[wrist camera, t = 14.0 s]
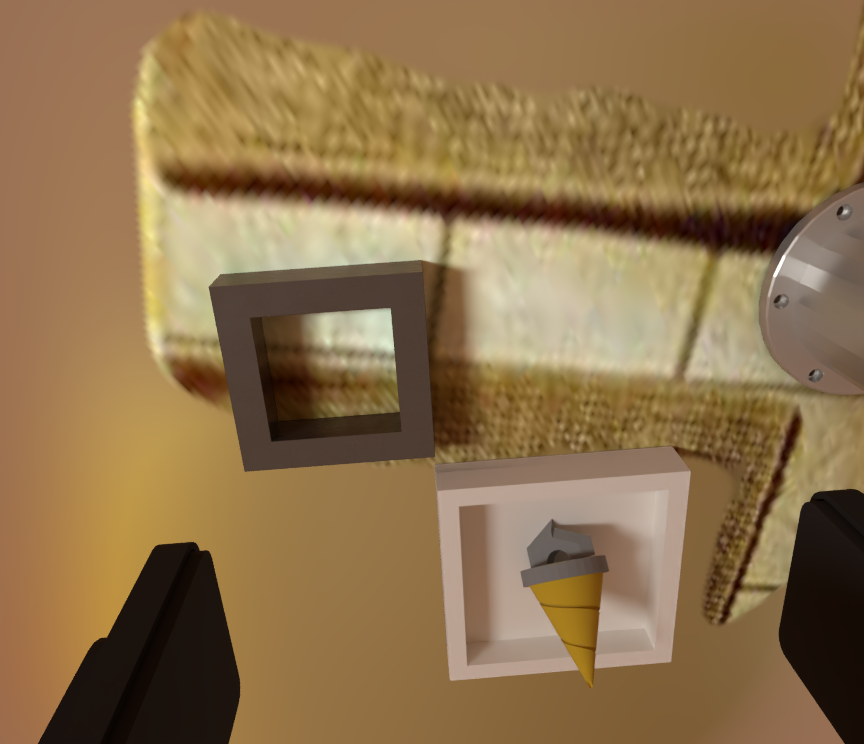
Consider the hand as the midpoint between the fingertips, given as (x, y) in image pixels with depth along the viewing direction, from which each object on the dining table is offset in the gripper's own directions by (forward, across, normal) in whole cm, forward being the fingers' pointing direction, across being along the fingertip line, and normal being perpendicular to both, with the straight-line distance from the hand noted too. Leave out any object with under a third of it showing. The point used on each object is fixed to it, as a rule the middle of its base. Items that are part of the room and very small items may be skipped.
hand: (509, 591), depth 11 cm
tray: (+28, -7, +22) cm, 37 cm away
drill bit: (+28, -8, +22) cm, 36 cm away
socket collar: (+28, +6, +7) cm, 30 cm away
